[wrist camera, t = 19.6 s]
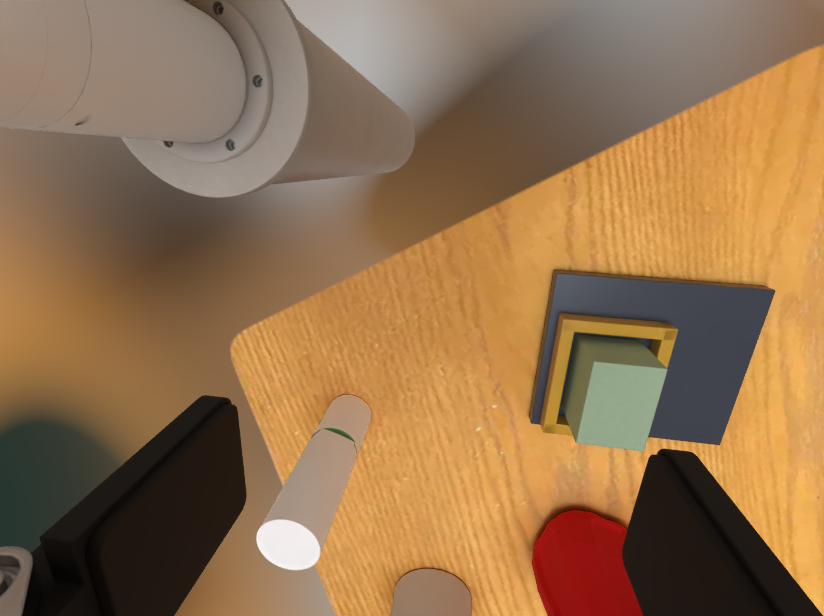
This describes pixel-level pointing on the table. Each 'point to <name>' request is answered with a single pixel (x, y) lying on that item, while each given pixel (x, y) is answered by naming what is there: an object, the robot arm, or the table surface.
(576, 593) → the water bottle
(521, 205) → the table surface
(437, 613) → the mug
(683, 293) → the backing plate
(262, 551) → the tube
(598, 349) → the sage green block
